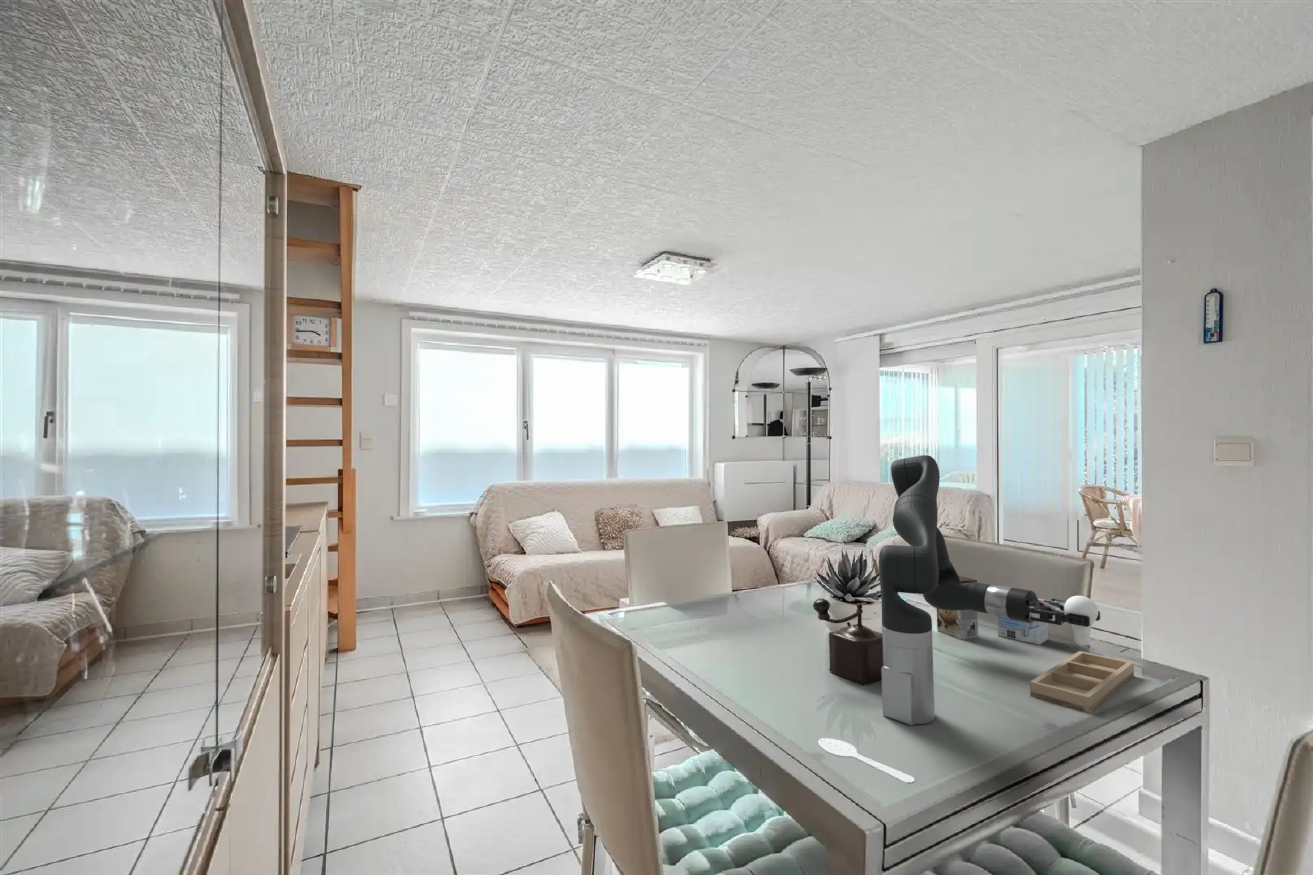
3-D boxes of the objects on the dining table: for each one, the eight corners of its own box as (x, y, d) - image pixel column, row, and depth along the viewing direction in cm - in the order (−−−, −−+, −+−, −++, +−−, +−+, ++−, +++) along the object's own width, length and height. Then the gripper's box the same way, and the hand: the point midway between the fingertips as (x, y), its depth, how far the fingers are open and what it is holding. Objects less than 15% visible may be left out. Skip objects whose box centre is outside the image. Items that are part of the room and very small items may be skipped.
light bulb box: (996, 636, 165) (995, 597, 165) (1005, 631, 169) (1004, 593, 170) (1041, 645, 157) (1039, 604, 157) (1048, 639, 161) (1047, 599, 162)
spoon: (904, 789, 92) (904, 786, 92) (810, 745, 106) (810, 742, 106) (922, 778, 95) (922, 774, 95) (828, 736, 110) (828, 733, 110)
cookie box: (936, 630, 171) (934, 574, 171) (954, 628, 173) (952, 572, 173) (961, 640, 162) (959, 580, 162) (979, 637, 164) (977, 579, 164)
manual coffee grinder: (856, 662, 147) (854, 589, 147) (894, 676, 137) (892, 598, 138) (810, 675, 139) (808, 598, 139) (848, 691, 129) (846, 608, 130)
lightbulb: (1105, 651, 127) (1103, 600, 127) (1073, 650, 128) (1071, 599, 128) (1090, 641, 133) (1089, 592, 133) (1059, 640, 134) (1058, 591, 134)
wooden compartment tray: (1089, 712, 117) (1089, 697, 117) (1030, 696, 125) (1029, 681, 125) (1134, 675, 135) (1133, 662, 135) (1079, 663, 143) (1079, 650, 143)
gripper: (997, 592, 137) (1082, 607, 124) (1022, 582, 146) (1105, 595, 133) (997, 624, 137) (1083, 643, 124) (1023, 613, 146) (1106, 629, 133)
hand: (1094, 618), depth 128 cm, fingers closed on lightbulb, 6 cm apart
